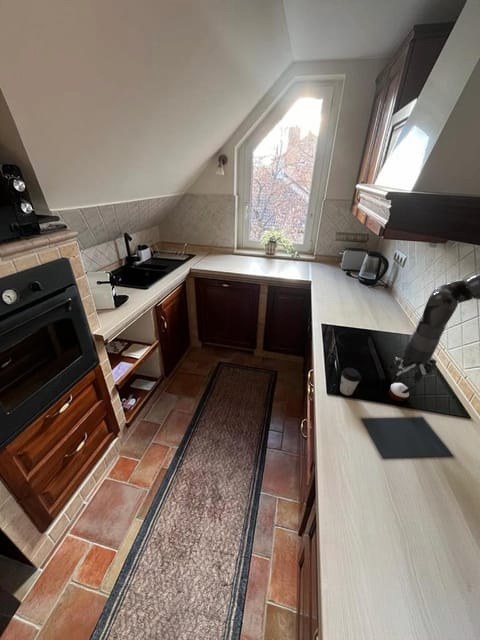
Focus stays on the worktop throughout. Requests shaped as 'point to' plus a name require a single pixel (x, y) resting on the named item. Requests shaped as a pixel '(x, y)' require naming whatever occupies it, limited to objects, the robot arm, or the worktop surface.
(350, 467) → the worktop surface
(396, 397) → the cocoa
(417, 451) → the mat
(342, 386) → the coffee cup
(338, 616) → the worktop surface
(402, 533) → the worktop surface
